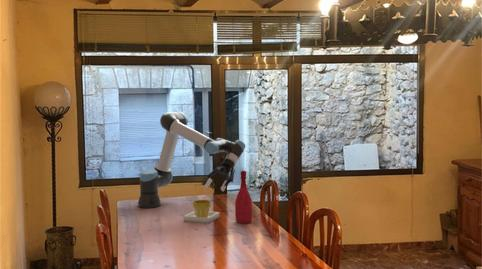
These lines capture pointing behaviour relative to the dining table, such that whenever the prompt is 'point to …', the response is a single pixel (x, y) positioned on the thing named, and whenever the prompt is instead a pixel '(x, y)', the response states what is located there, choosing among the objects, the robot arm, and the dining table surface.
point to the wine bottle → (243, 202)
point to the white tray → (192, 217)
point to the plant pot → (202, 207)
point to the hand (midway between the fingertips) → (213, 188)
